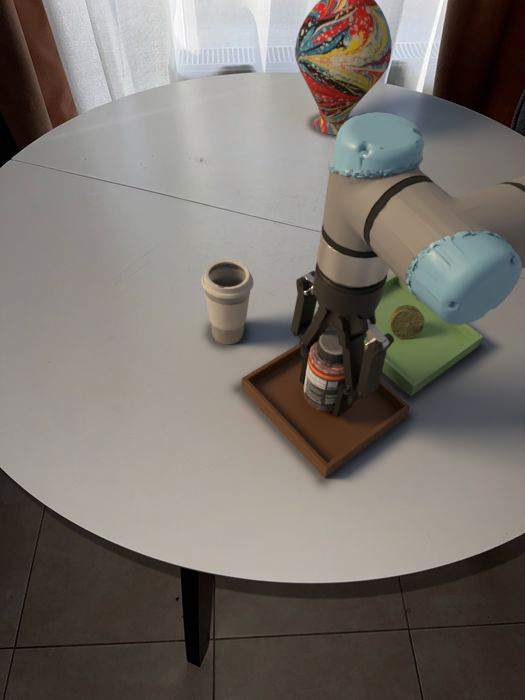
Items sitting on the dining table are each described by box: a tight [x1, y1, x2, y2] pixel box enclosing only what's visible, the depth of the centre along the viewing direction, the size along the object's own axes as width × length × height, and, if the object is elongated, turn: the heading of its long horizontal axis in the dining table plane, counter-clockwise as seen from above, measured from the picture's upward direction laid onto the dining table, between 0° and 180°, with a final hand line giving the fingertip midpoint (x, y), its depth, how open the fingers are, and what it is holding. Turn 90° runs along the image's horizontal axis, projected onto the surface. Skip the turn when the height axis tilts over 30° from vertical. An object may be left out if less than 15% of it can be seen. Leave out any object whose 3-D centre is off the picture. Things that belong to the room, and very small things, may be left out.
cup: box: [200, 258, 255, 345], centre depth 82 cm, size 7×7×12 cm
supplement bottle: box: [304, 329, 345, 411], centre depth 74 cm, size 6×6×11 cm
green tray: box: [331, 273, 484, 397], centre depth 87 cm, size 17×15×2 cm
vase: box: [294, 0, 393, 136], centre depth 115 cm, size 19×19×30 cm
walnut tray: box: [240, 330, 412, 479], centre depth 79 cm, size 17×15×2 cm
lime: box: [390, 305, 424, 339], centre depth 86 cm, size 4×5×5 cm
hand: (325, 393), depth 78 cm, fingers closed on supplement bottle, 6 cm apart
